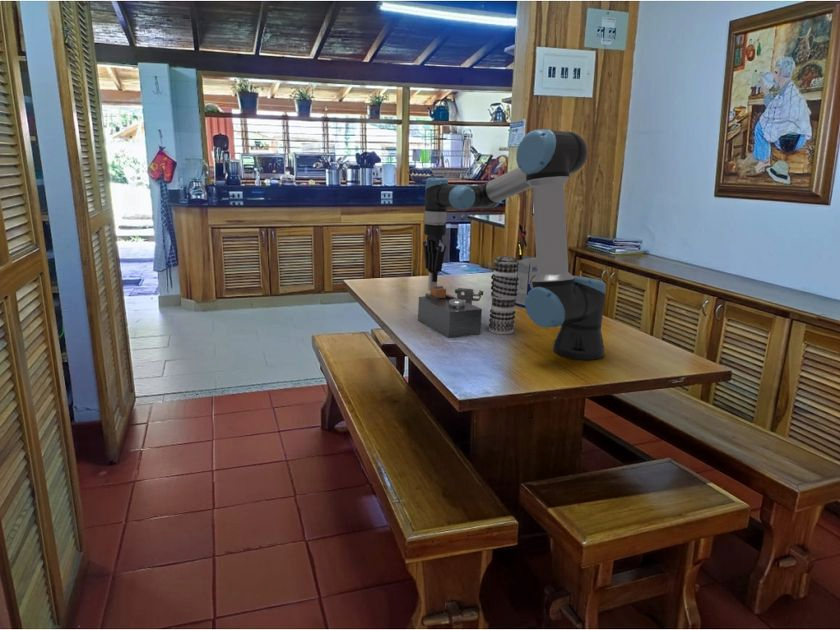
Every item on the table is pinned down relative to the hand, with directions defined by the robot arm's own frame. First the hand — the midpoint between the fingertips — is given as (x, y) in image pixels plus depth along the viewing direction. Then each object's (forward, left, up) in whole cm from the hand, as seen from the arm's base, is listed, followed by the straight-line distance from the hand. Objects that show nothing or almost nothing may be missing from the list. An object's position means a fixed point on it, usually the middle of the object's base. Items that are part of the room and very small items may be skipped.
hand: (432, 290), depth 207 cm
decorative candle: (-22, -15, -10) cm, 29 cm away
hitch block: (-12, 0, -10) cm, 16 cm away
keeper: (-4, 0, -1) cm, 5 cm away
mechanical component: (-2, -14, -10) cm, 18 cm away
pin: (-17, 0, -10) cm, 20 cm away
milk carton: (+4, -45, -10) cm, 46 cm away
